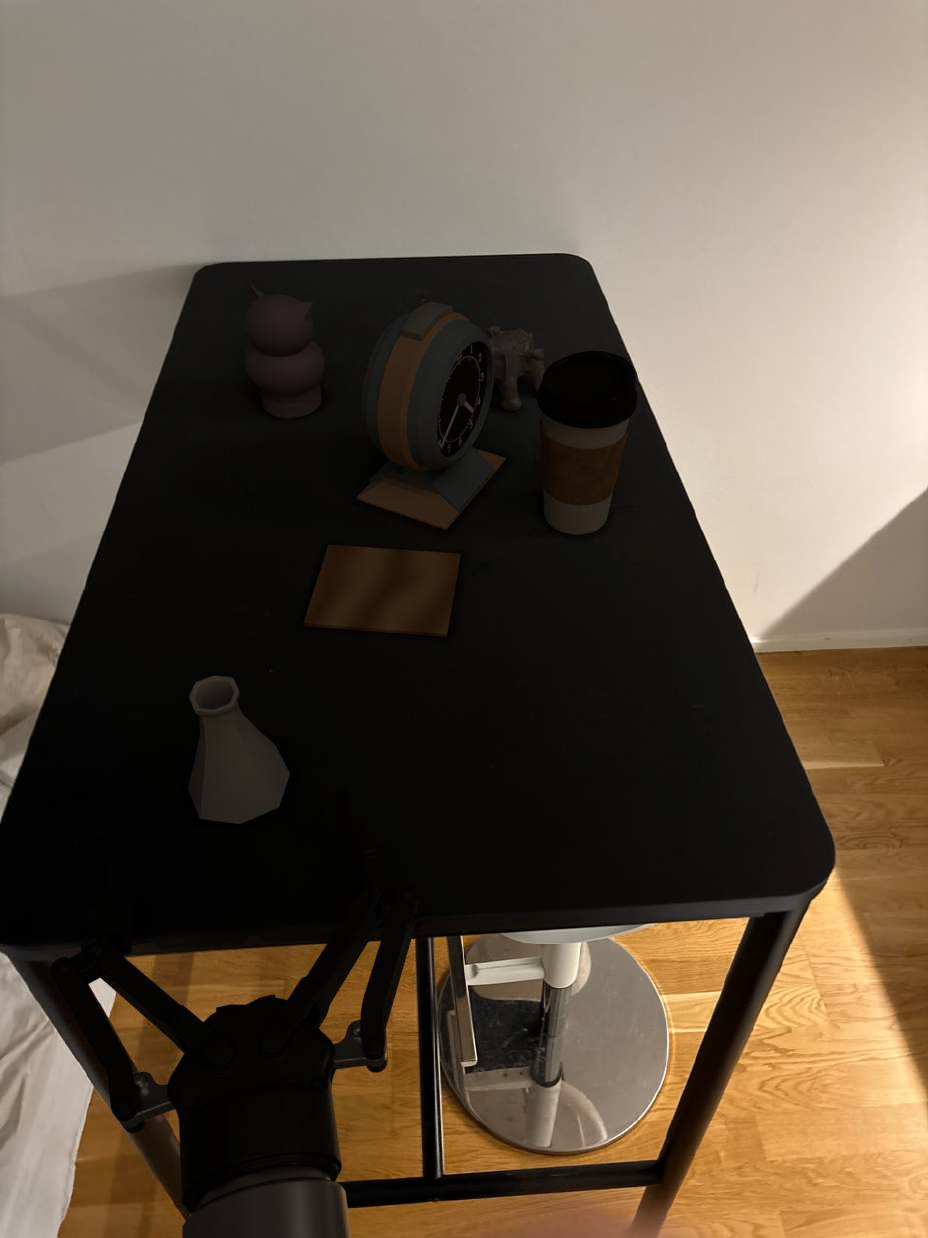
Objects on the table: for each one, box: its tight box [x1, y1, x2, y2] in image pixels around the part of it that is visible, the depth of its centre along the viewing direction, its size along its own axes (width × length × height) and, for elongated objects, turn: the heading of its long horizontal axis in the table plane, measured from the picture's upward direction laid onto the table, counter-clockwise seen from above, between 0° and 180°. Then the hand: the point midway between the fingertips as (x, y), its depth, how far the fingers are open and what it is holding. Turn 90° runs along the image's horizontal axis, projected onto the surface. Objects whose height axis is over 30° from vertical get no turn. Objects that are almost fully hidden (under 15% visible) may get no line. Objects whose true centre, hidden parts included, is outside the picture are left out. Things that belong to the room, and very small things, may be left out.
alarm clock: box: [355, 301, 507, 531], centre depth 89 cm, size 14×10×18 cm
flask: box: [187, 675, 291, 825], centre depth 67 cm, size 7×7×10 cm
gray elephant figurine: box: [486, 324, 546, 412], centre depth 102 cm, size 9×12×8 cm
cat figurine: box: [243, 285, 326, 419], centre depth 101 cm, size 8×8×12 cm
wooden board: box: [303, 544, 462, 638], centre depth 84 cm, size 12×10×1 cm
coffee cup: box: [536, 350, 638, 536], centre depth 86 cm, size 8×8×15 cm
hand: (232, 822), depth 61 cm, fingers open, 13 cm apart
